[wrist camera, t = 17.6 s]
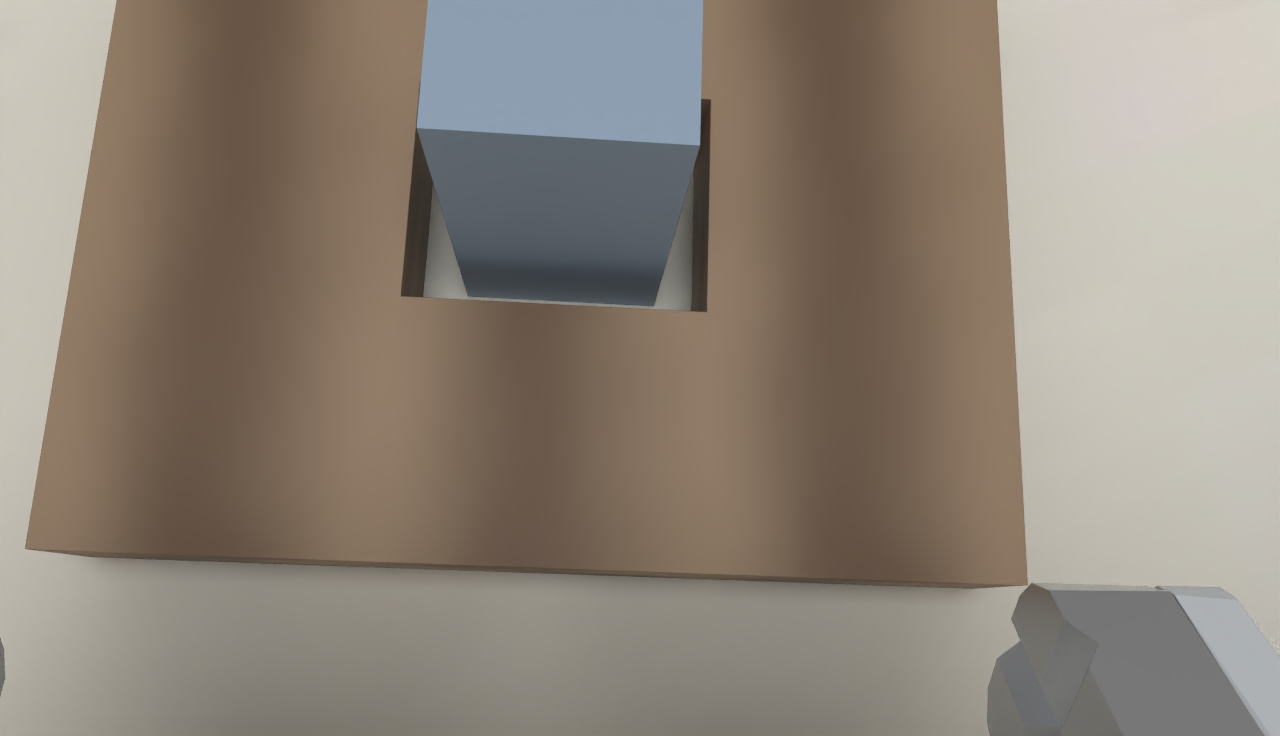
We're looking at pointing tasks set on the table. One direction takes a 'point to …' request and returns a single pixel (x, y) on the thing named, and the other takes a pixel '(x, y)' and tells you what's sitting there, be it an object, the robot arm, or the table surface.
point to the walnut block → (542, 318)
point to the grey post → (562, 141)
